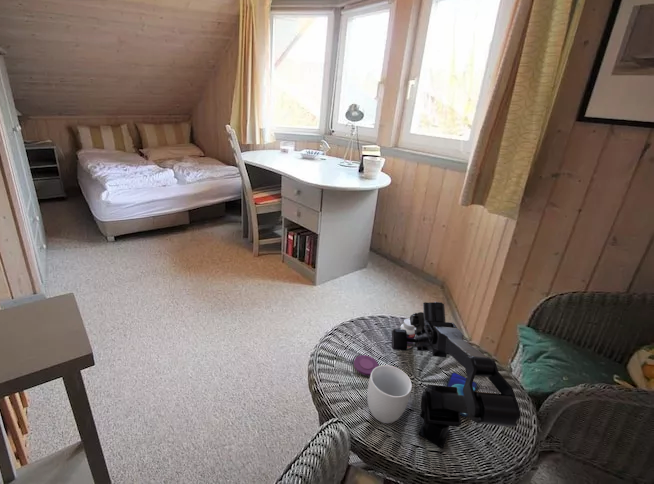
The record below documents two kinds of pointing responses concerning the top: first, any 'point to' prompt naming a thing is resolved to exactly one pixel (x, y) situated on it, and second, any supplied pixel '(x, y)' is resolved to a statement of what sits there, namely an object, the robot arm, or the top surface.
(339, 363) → the top surface
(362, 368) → the plum saucer
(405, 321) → the pill bottle
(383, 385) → the mug
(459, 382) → the smartphone
